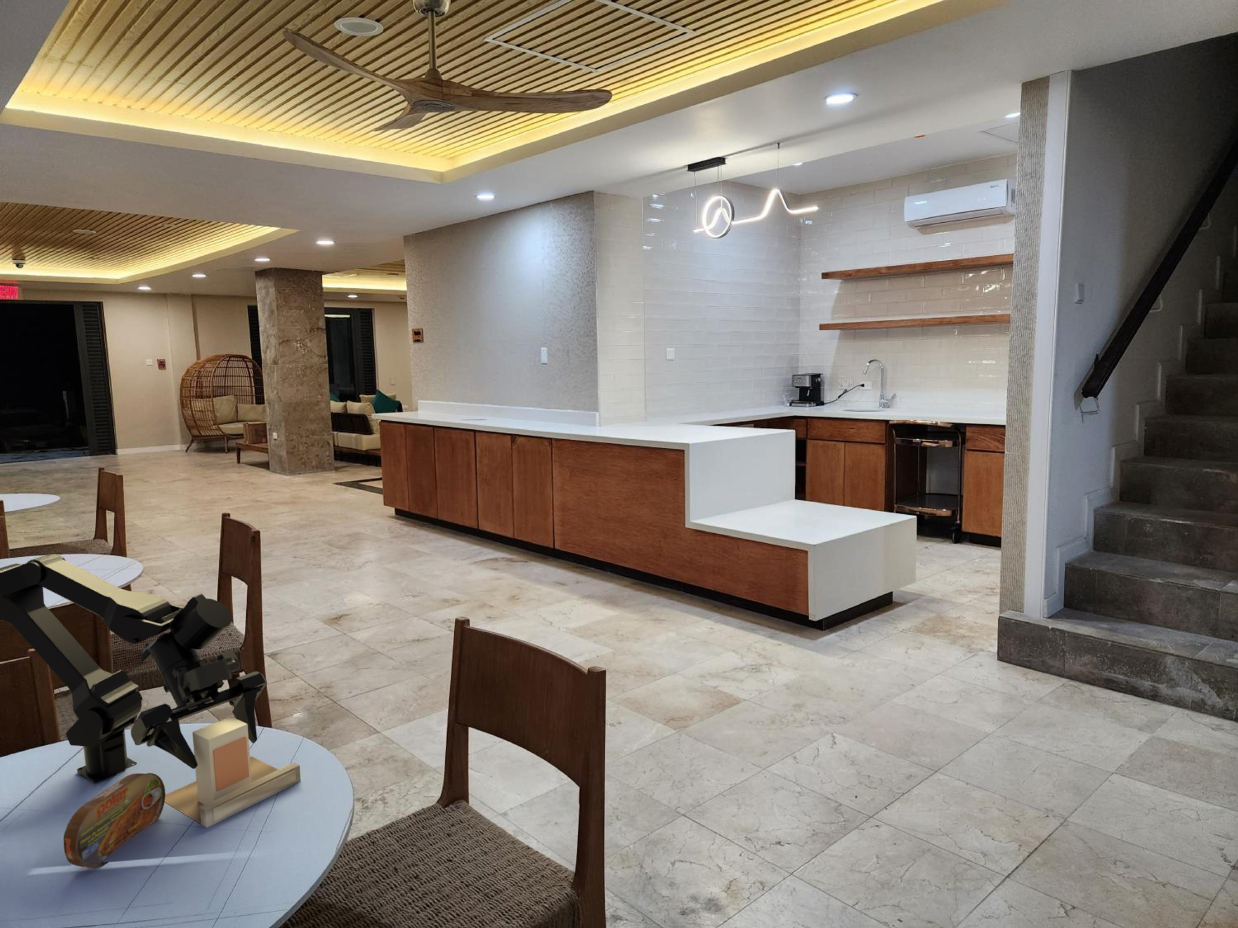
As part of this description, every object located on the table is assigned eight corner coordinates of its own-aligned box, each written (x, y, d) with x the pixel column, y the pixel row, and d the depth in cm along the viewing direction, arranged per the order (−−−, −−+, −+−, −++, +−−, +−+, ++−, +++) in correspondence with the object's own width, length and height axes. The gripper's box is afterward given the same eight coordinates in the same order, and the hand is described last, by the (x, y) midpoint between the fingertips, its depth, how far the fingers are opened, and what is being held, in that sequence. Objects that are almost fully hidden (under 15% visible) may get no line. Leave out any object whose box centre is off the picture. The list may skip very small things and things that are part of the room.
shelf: (158, 801, 121) (157, 781, 121) (251, 759, 133) (250, 741, 133) (208, 832, 113) (206, 811, 113) (302, 784, 126) (300, 765, 125)
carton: (198, 800, 120) (192, 731, 118) (236, 782, 125) (231, 716, 123) (215, 810, 117) (209, 740, 116) (253, 792, 122) (248, 724, 121)
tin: (82, 882, 103) (75, 821, 102) (61, 879, 103) (55, 818, 102) (169, 815, 117) (164, 762, 116) (151, 813, 118) (146, 760, 117)
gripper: (133, 659, 113) (180, 755, 108) (256, 622, 128) (302, 704, 123) (111, 698, 118) (155, 791, 114) (232, 658, 133) (275, 738, 129)
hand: (226, 753), depth 120 cm, fingers open, 9 cm apart
